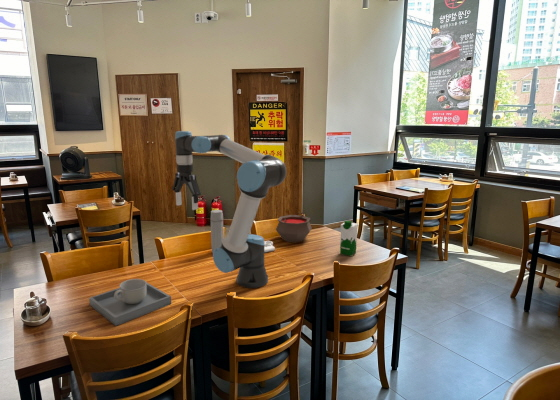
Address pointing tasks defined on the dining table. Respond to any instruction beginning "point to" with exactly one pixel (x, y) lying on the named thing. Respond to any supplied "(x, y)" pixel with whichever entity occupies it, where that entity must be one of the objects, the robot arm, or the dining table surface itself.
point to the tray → (128, 305)
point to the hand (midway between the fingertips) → (186, 207)
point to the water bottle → (216, 229)
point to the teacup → (132, 291)
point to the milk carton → (348, 238)
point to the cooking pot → (293, 227)
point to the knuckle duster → (268, 246)
